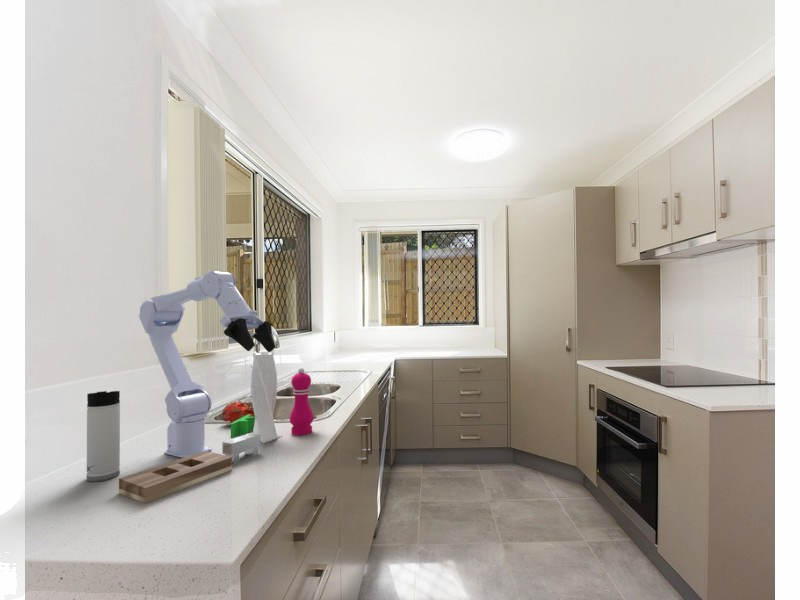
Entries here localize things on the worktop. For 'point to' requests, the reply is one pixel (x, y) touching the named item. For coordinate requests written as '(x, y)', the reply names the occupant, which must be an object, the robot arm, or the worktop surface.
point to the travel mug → (103, 435)
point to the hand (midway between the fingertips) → (262, 348)
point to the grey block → (241, 446)
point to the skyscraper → (264, 394)
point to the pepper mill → (301, 405)
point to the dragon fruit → (236, 411)
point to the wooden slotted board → (173, 476)
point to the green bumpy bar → (242, 426)
